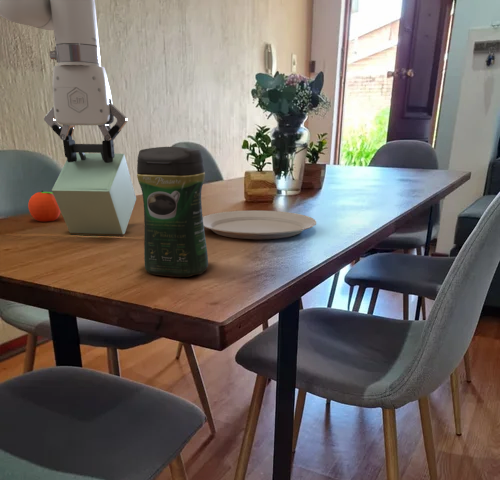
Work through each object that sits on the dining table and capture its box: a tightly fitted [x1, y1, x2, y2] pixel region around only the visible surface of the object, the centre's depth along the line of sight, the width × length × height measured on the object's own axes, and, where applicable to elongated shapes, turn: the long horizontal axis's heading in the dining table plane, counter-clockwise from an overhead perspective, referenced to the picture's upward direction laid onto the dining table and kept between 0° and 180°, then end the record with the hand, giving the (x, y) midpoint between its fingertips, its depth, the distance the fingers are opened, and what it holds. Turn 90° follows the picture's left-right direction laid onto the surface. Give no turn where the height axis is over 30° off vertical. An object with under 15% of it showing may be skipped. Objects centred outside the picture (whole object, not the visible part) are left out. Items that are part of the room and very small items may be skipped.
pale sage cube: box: [51, 143, 137, 238], centre depth 102 cm, size 14×11×12 cm
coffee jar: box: [136, 146, 209, 278], centre depth 77 cm, size 10×8×19 cm
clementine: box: [27, 190, 61, 223], centre depth 115 cm, size 8×7×7 cm
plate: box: [202, 209, 317, 240], centre depth 110 cm, size 26×26×2 cm
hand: (90, 161), depth 99 cm, fingers closed on pale sage cube, 6 cm apart
